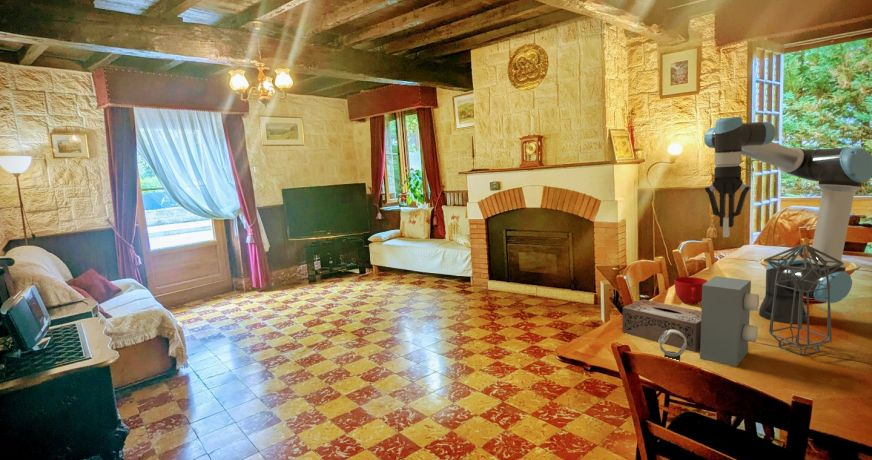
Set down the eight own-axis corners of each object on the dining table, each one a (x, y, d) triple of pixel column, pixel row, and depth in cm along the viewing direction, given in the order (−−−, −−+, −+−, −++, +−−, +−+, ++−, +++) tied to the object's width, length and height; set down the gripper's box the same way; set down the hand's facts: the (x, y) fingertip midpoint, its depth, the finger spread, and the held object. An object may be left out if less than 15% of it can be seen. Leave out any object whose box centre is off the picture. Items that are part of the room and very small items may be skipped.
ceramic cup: (676, 308, 199) (676, 285, 198) (672, 297, 215) (673, 276, 213) (711, 310, 194) (712, 287, 193) (705, 299, 210) (705, 277, 209)
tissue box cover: (622, 333, 175) (622, 307, 173) (642, 324, 183) (642, 299, 182) (695, 352, 154) (695, 323, 153) (713, 341, 163) (714, 313, 162)
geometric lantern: (841, 354, 147) (849, 245, 142) (803, 363, 143) (810, 251, 138) (792, 337, 162) (797, 237, 157) (756, 344, 158) (760, 243, 153)
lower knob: (757, 339, 146) (757, 324, 145) (753, 344, 142) (754, 328, 142) (724, 333, 152) (724, 318, 151) (719, 337, 149) (720, 322, 148)
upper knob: (758, 308, 144) (759, 292, 144) (754, 312, 141) (755, 296, 140) (725, 303, 151) (726, 288, 150) (720, 307, 147) (721, 291, 147)
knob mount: (747, 352, 152) (750, 280, 149) (736, 366, 142) (739, 289, 139) (713, 345, 159) (715, 276, 156) (699, 358, 149) (702, 285, 146)
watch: (658, 359, 150) (658, 326, 149) (686, 363, 146) (687, 329, 145) (656, 366, 145) (657, 332, 144) (686, 370, 142) (687, 335, 140)
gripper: (753, 164, 152) (751, 235, 155) (708, 166, 161) (707, 233, 164) (749, 165, 147) (747, 239, 150) (702, 167, 156) (701, 237, 159)
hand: (726, 236), depth 157 cm, fingers closed
